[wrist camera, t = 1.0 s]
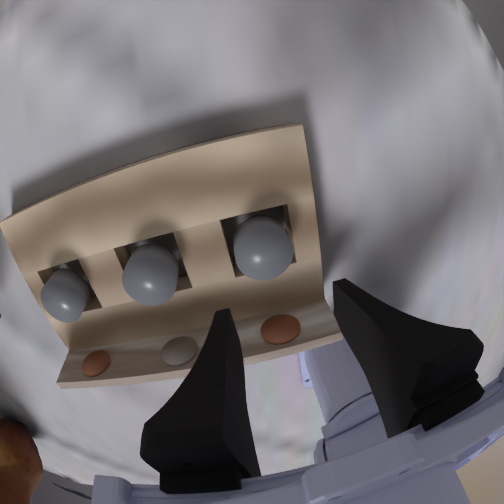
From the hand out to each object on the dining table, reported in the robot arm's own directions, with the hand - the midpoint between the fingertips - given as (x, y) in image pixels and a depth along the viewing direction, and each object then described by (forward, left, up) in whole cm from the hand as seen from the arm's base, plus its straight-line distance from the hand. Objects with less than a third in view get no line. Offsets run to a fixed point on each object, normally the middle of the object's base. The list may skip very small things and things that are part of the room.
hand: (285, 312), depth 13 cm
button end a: (0, 0, -8) cm, 8 cm away
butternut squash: (-25, +48, -10) cm, 55 cm away
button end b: (0, +15, -8) cm, 17 cm away
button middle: (0, +7, -8) cm, 11 cm away
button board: (0, +7, -9) cm, 12 cm away
